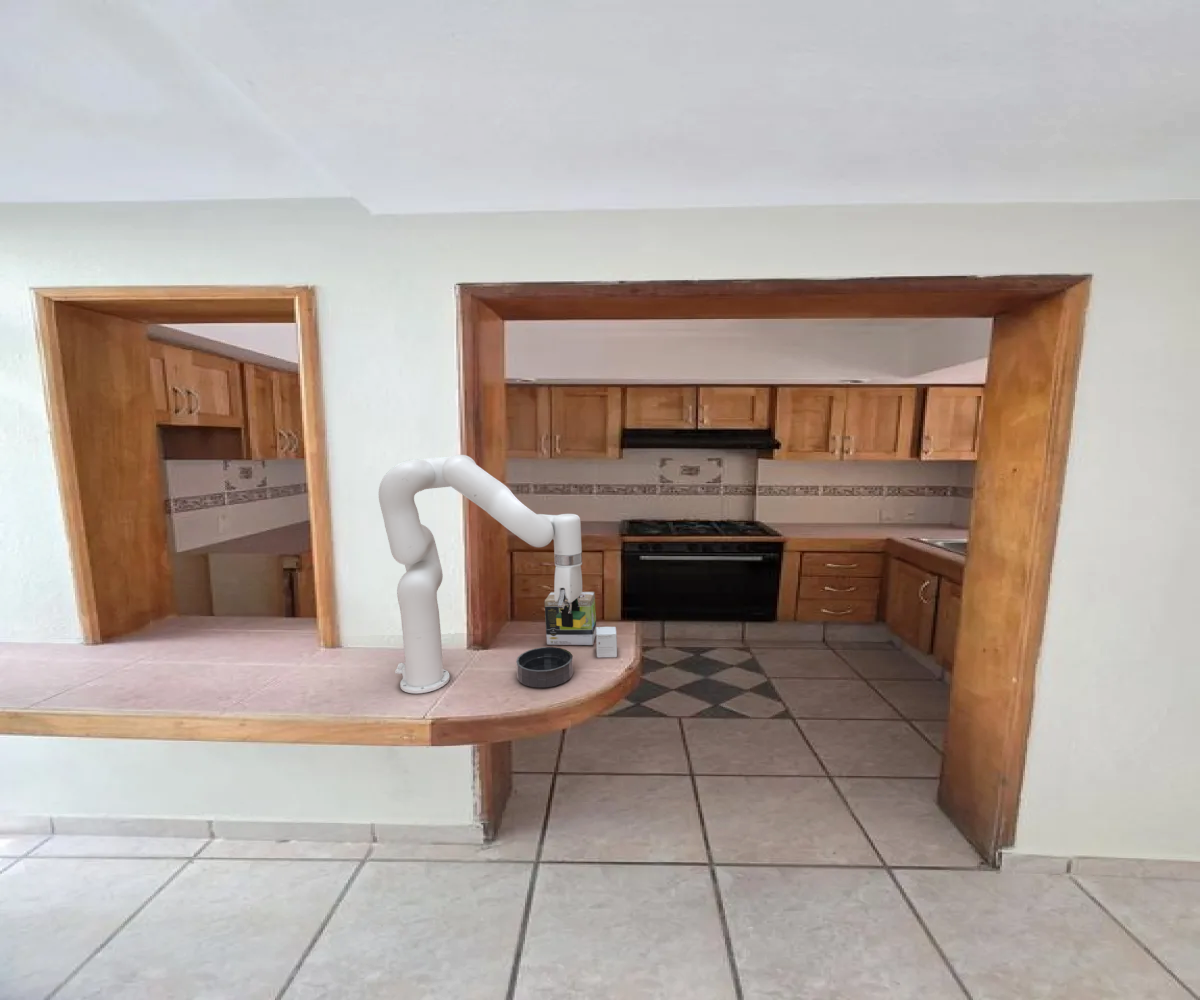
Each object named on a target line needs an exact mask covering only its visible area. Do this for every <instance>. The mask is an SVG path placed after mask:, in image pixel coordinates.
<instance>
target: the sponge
mask: <svg viewBox="0 0 1200 1000" xmlns="http://www.w3.org/2000/svg"><path fill="white" fill-rule="evenodd" d="M571 613H573V627H577V628H581V626H582V625H583V624H584V623H585V622H586V615H585V612H581V611H571ZM556 622H557V626H562V621H561V612H559V613H558V614H557V615H556Z"/></svg>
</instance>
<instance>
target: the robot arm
mask: <svg viewBox="0 0 1200 1000" xmlns="http://www.w3.org/2000/svg"><path fill="white" fill-rule="evenodd" d="M440 488H441V489H443V488H452V489H454V490H455V491H456V492H457V493H459V494H460V495H463V496H464V497H465V498H466V499H468V500H470V501H471V502H472V503H474V504H475V505H476V506H478V507H479V508H481V509H482V510H483V511H485V512H486V513H487V514H488V515H489V516H491V517H492V518H493V519H494V520H496V521H497V522H498V523H499V524H501V525H502V526H503V527H504V528H506V529H507V530H508V531H509V532H511V533H512V534H514V535H515V536H517V537H518V538H519V539H520V540H522V541H523V542H525V543H526V544H528V545H530V546H531V547H534V548H545V547H546V546H548V545H549V544H550V543H551V542H552V541H553V551H554V552H553V555H554V566H555V568H554V584H553V587H554V589H553V590H554V591H553V592H554V599H555V602H558V608H560V610H561V611H560V612H561V621H562V627H571V628H572V627H573V613H571V611H580V600H579V598H580V595H581V593H582V592H583V573H582V567H581V566H582V565H583V549H582V548H583V547H582V545H583V544H582V524H581V523H582V522H581V517H580V516H579V515H578V514H575V513H561V514H543V513H536V512H534V510H532V509H530V508H529V507H528V506H526V505H525V504H524V503H523V502H521V500H520V499H518V498H517V497H516V496H515V495H514V494H513V491H511V490H510V488H509V487H508V486H507V485H506V484H505V483H503V482H501V481H500V480H499V479H497V478H496V477H494V476H493V475H491V474H490V473H489V472H487V471H486V470H485V469H483V468H482V467H480V466H479V465H478V464H477V463H476V461H475V460H474V459H473V458H472V457H471V456H468V455H467V454H456V455H449V456H439V457H428V458H427V457H426V458H416V459H408V460H403V461H402V462H399V463H397V464H395V465H394V466H393V467H391V468H390V469H389V470H388V471H387V472H386V473H385V475H384V476H383V477H382V479H381V481H380V484H379V487H378V502H379V507H380V510H381V514H382V519H383V523H384V528H385V532H386V536H387V540H388V544H389V549H390V553H391V556H392V557H393V559H394V560H395V561H396V562H397V563H399V564H400V565H403V566H404V567H405V568H404V569H405V573H404V574H403V575H402V576H401V577H400V579H399V581H398V584H397V589H396V596H397V597H396V598H397V601H398V603H397V604H398V607H399V612H400V620H401V621H400V622H401V630H402V643H403V644H402V645H403V655H404V662H398V664H397V667H396V669H395V670H394V673H395V674H396V675H402V679H400V682H399V686H400V690H402V691H403V692H405V693H408V694H426V693H429V692H433V691H434V692H435V691H436V690H439V689H441V688H443V687H445V686H446V685H447V683H449V681H450V680H451V679H450V677H451V675H450V672H449V671H448V670H446V669H444V661H443V648H442V647H443V645H442V633H441V631H442V629H441V620H440V609H439V604H438V590H439V588H440V587H441V585H442V582H443V576H444V575H443V569H442V564H441V560H440V556H439V551H438V548H437V543H436V540H435V536H434V535H433V532H432V531H431V530H430V528H429V527H427V526H426V525H424V524H422V523H421V519H420V515H419V511H418V508H417V507H418V506H417V504H416V502H415V496H416V494H417V493H419V492H422V491H424V490H430V489H431V490H432V489H440ZM565 599H566V600H568V602H567V601H565ZM565 604H568V607H567V606H565Z"/></svg>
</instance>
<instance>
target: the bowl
mask: <svg viewBox="0 0 1200 1000" xmlns="http://www.w3.org/2000/svg"><path fill="white" fill-rule="evenodd" d="M515 664H516V665H515V667H516V679H517V681H518V682H520V683H521V684H522V685H524V686H528V687H531V688H540V689H541V688H551V687H556V686H559V685H561V684H564V683H565V682H567V681H569V680H570V679H571V678H572V677H573V675H574V656H573V654H572V652H570V651H569V650H568V649H565V648H561V647H556V646H544V647H543V646H541V647H537V648H536V647H535V648H532V649H528V650H526V651H524V652H522V653H521V654H519V655H518V657H517V658H516V661H515Z"/></svg>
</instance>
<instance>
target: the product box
mask: <svg viewBox="0 0 1200 1000" xmlns="http://www.w3.org/2000/svg"><path fill="white" fill-rule="evenodd" d="M617 637H618V636H617V627H616V626H596V636H595V644H596V645H595V648H596V650H595V651H596V652H595V653H596V658H617V657H618V640H617V639H618V638H617Z"/></svg>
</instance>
